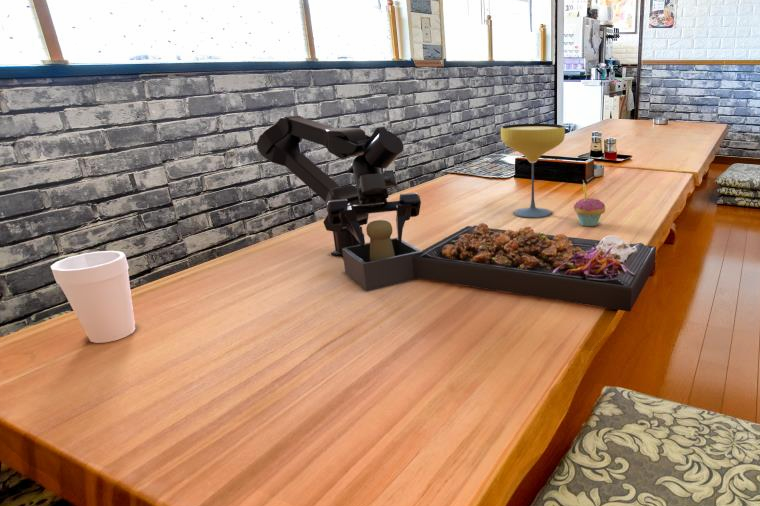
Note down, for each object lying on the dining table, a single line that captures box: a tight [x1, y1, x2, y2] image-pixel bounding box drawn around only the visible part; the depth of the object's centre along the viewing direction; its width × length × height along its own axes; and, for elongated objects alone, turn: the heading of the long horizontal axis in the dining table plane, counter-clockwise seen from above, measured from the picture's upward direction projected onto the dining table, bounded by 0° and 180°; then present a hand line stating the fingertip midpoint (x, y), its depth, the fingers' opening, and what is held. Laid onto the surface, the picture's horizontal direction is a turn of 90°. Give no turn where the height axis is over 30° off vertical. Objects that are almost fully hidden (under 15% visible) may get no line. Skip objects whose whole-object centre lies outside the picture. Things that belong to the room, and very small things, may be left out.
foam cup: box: [50, 250, 136, 344], centre depth 86 cm, size 10×9×13 cm
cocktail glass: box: [500, 123, 566, 219], centre depth 153 cm, size 18×18×25 cm
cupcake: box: [573, 179, 606, 227], centre depth 144 cm, size 9×8×12 cm
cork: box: [365, 219, 395, 261], centre depth 110 cm, size 6×6×11 cm
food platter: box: [412, 222, 657, 313], centre depth 109 cm, size 45×25×10 cm, turn 66°
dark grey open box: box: [342, 236, 423, 292], centre depth 111 cm, size 13×13×6 cm
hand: (381, 243), depth 108 cm, fingers open, 7 cm apart
